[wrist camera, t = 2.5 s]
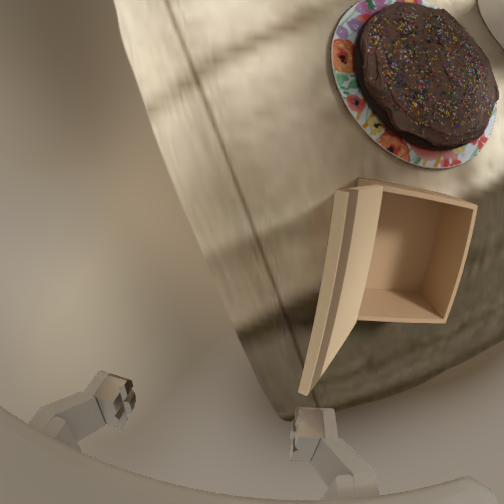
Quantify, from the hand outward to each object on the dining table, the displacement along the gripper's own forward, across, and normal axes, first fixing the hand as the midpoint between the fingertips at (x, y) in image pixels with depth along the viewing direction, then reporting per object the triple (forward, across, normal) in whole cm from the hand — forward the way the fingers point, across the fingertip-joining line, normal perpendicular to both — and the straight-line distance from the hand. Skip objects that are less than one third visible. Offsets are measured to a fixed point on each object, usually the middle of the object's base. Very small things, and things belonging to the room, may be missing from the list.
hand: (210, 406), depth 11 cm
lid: (+15, -9, 0) cm, 18 cm away
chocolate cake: (+32, -21, -25) cm, 46 cm away
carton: (+31, -19, 0) cm, 37 cm away
